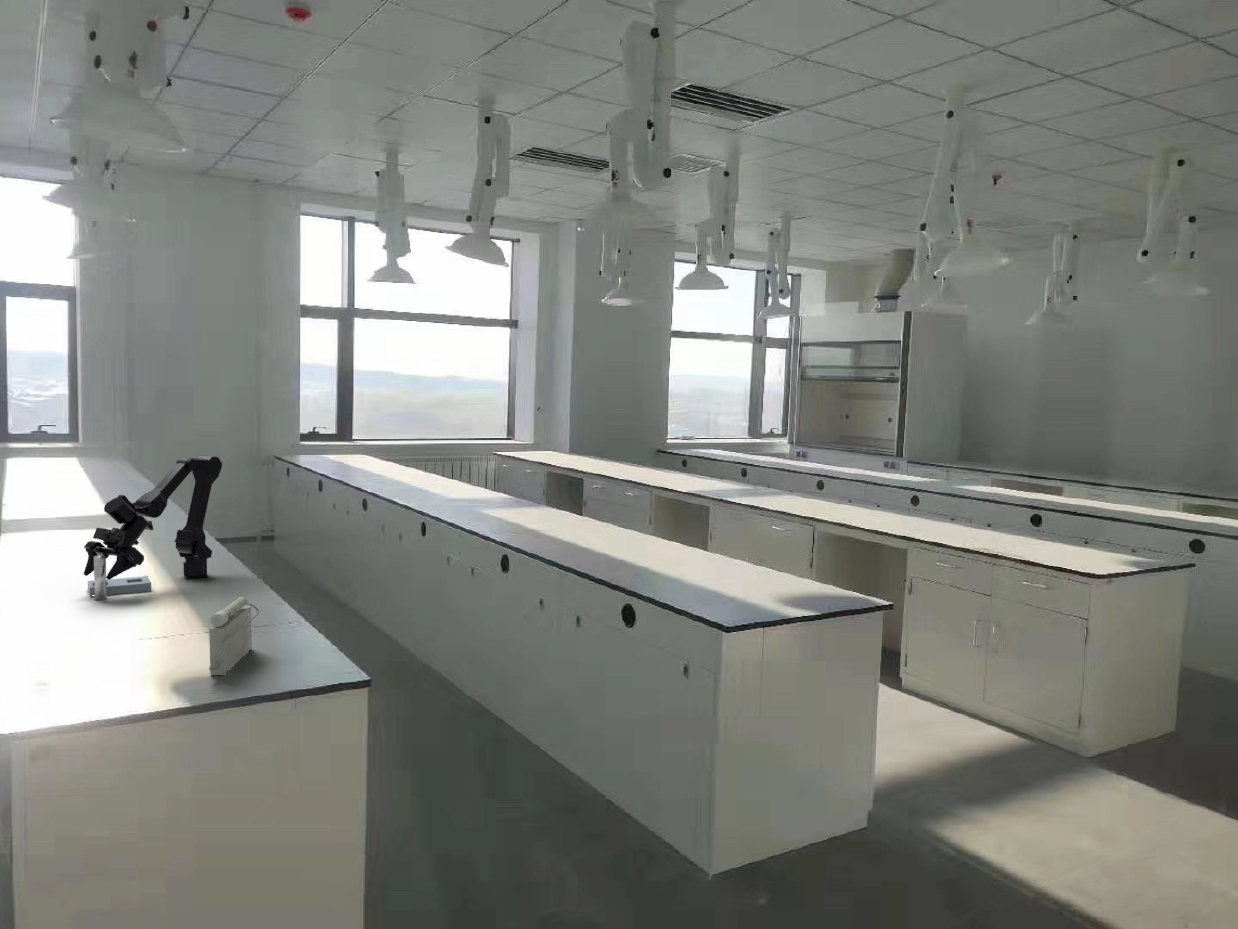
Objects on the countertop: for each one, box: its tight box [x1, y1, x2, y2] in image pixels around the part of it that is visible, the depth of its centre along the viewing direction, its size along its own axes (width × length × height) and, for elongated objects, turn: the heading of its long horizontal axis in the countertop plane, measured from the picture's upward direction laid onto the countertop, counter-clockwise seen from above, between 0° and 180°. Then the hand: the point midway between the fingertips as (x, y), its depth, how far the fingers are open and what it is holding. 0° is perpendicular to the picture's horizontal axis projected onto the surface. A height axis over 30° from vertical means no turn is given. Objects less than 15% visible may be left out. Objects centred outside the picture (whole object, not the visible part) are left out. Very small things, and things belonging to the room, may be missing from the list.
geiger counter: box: [208, 596, 260, 675], centre depth 209 cm, size 14×6×25 cm
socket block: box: [87, 575, 152, 597], centre depth 273 cm, size 16×10×2 cm, turn 123°
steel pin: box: [93, 555, 108, 601], centre depth 262 cm, size 3×3×12 cm
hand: (96, 576), depth 261 cm, fingers open, 9 cm apart
